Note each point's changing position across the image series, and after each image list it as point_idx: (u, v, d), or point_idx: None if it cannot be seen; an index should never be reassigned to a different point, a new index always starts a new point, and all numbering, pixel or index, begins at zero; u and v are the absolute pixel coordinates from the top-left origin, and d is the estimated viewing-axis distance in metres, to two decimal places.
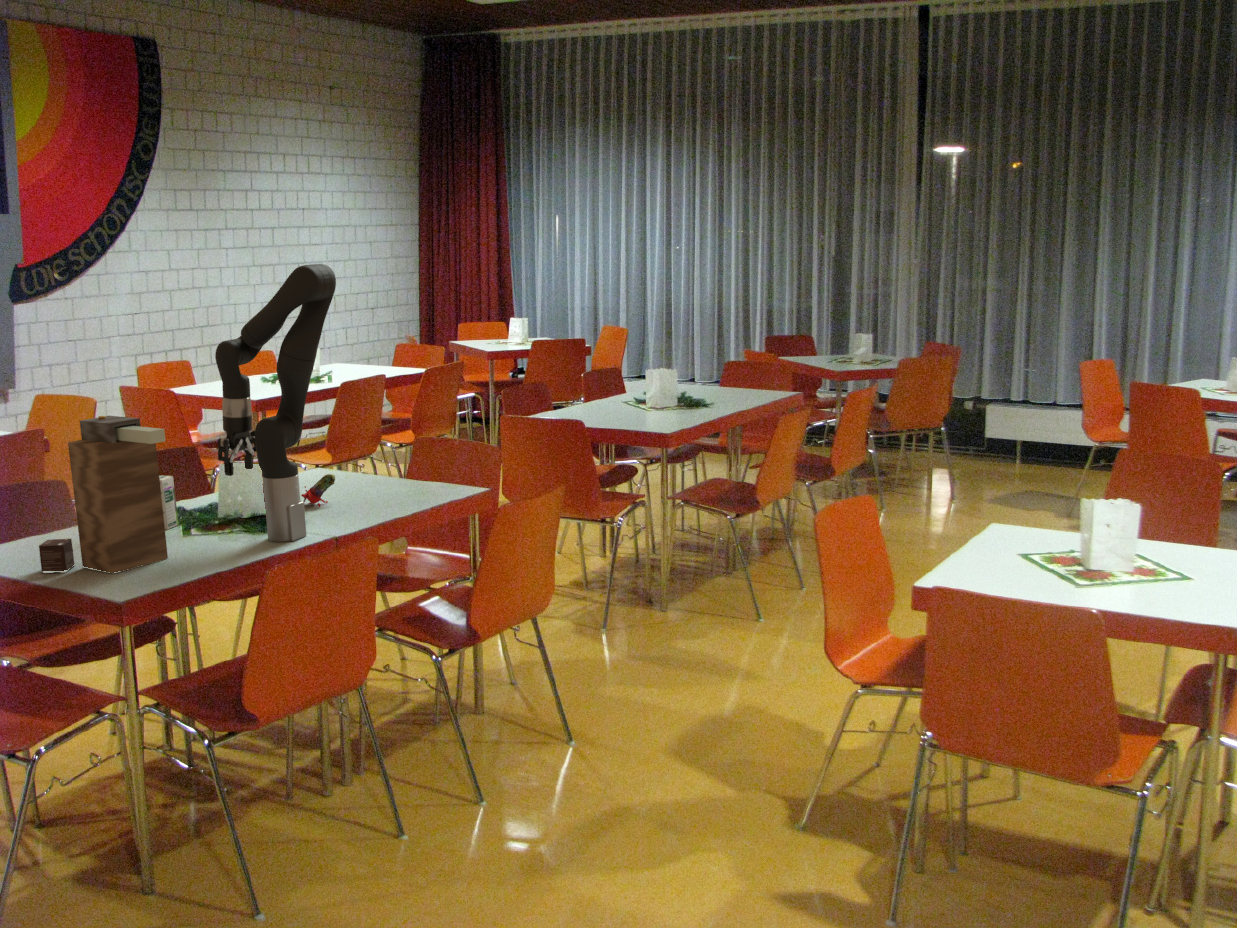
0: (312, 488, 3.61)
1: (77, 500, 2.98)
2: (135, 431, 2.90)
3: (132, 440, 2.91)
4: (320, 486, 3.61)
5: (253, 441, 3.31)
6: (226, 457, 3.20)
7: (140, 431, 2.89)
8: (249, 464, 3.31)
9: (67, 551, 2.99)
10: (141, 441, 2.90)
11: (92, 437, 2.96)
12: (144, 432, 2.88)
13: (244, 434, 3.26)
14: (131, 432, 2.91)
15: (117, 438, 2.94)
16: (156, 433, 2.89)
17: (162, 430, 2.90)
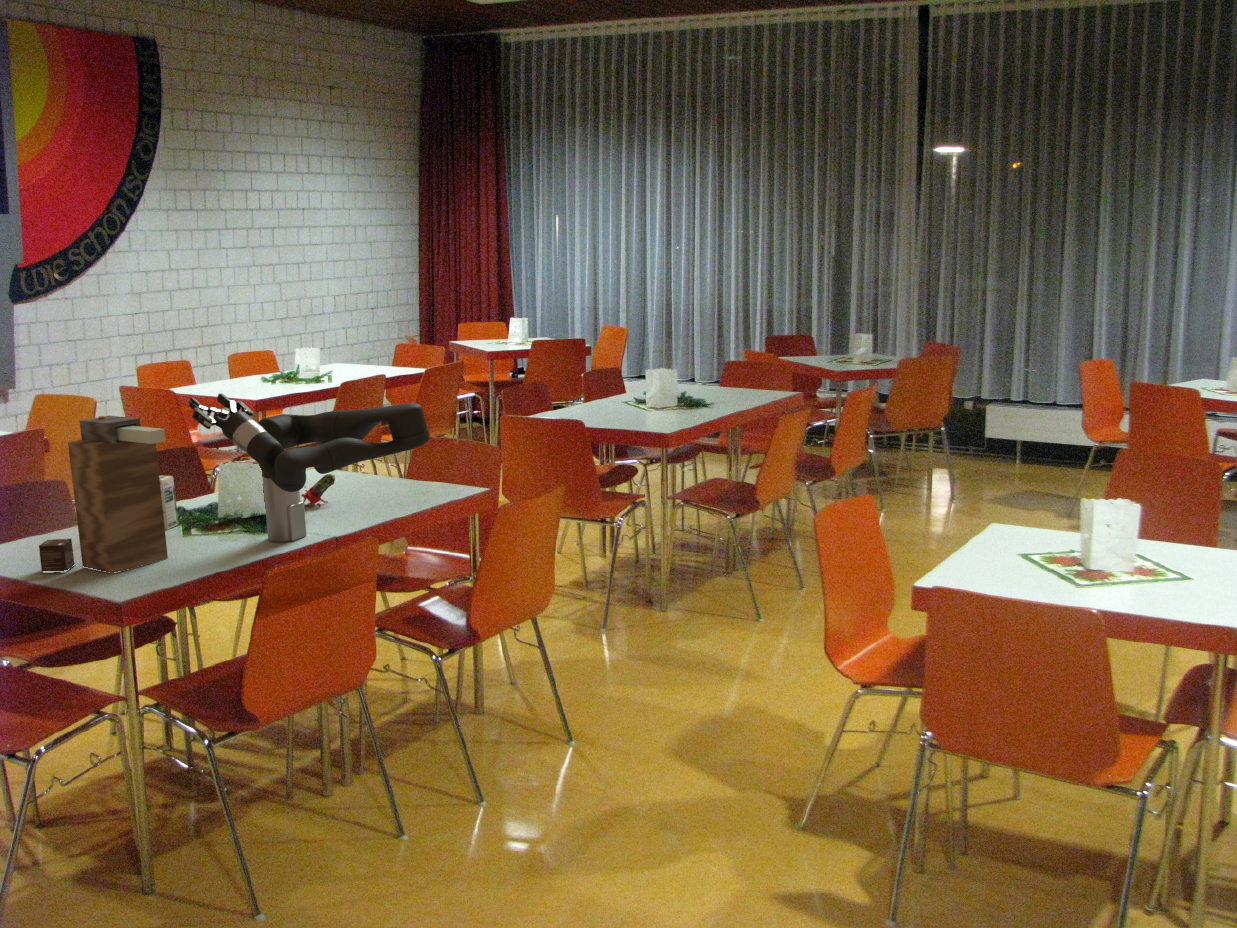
0: (312, 488, 3.61)
1: (77, 500, 2.98)
2: (135, 431, 2.90)
3: (132, 440, 2.91)
4: (320, 486, 3.61)
5: None
6: (242, 402, 3.03)
7: (140, 431, 2.89)
8: None
9: (67, 551, 2.99)
10: (141, 441, 2.90)
11: (92, 437, 2.96)
12: (144, 432, 2.88)
13: (227, 417, 2.94)
14: (131, 432, 2.91)
15: (117, 438, 2.94)
16: (156, 433, 2.89)
17: (162, 430, 2.90)
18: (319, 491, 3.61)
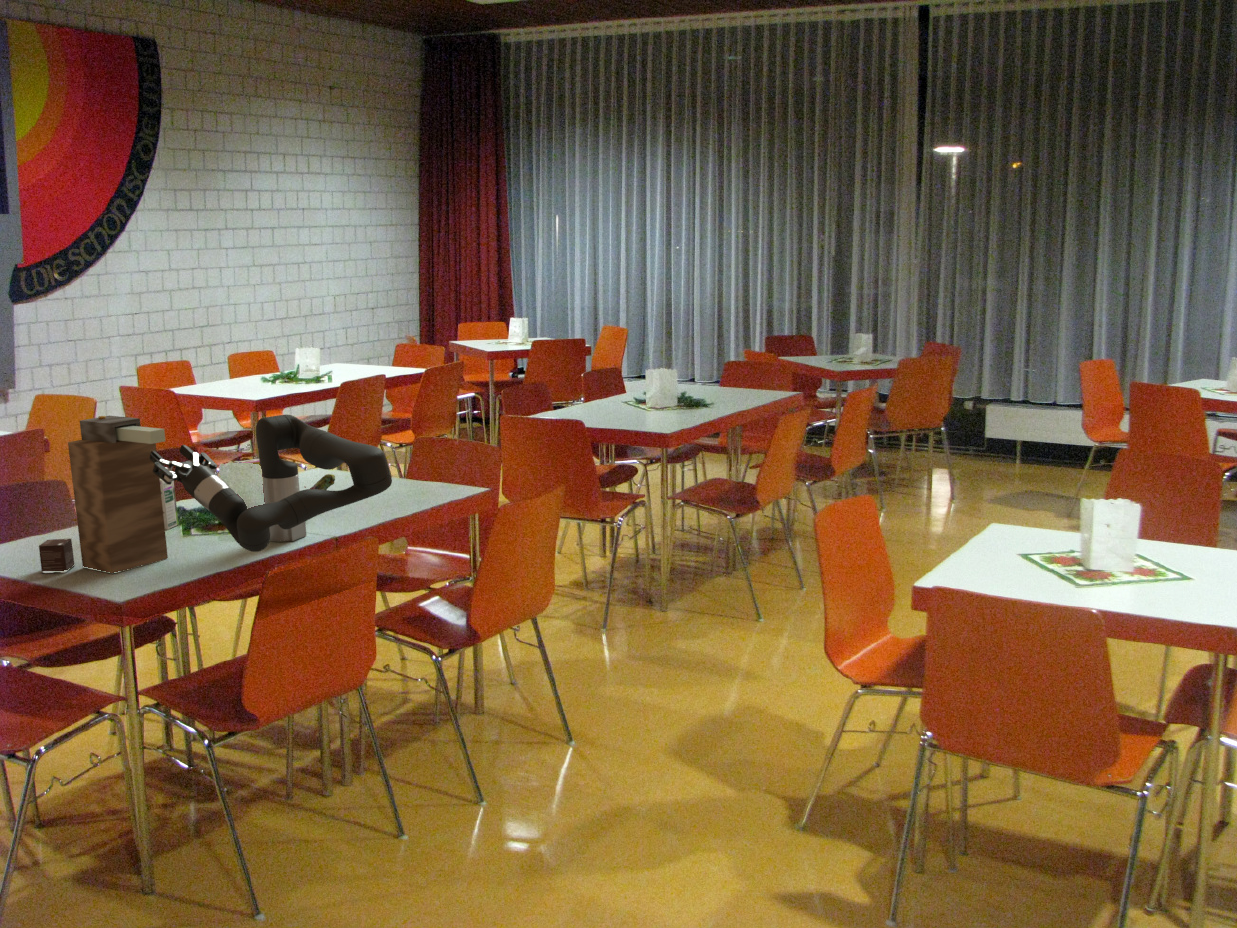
0: (312, 488, 3.61)
1: (77, 500, 2.98)
2: (135, 431, 2.90)
3: (132, 440, 2.91)
4: (320, 486, 3.61)
5: None
6: (205, 454, 2.91)
7: (140, 431, 2.89)
8: None
9: (67, 551, 2.99)
10: (141, 441, 2.90)
11: (92, 437, 2.96)
12: (144, 432, 2.88)
13: (189, 472, 2.83)
14: (131, 432, 2.91)
15: (117, 438, 2.94)
16: (156, 433, 2.89)
17: (162, 430, 2.90)
18: None
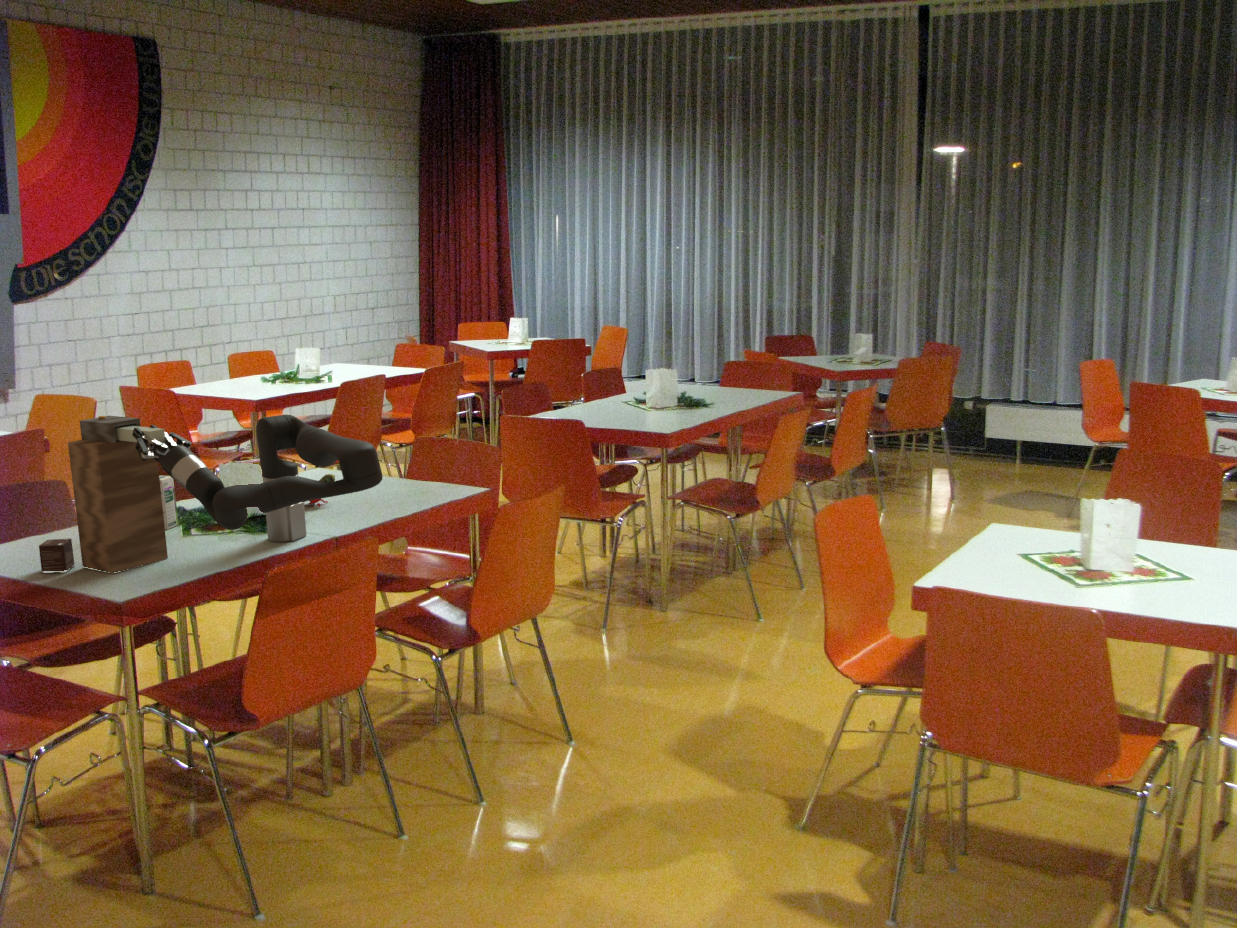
0: None
1: (77, 500, 2.98)
2: None
3: (132, 440, 2.91)
4: None
5: None
6: (174, 434, 2.93)
7: None
8: None
9: (67, 551, 2.99)
10: None
11: (92, 437, 2.96)
12: (144, 432, 2.88)
13: (167, 452, 2.86)
14: (131, 432, 2.91)
15: (117, 438, 2.94)
16: (156, 433, 2.89)
17: (162, 430, 2.90)
18: None
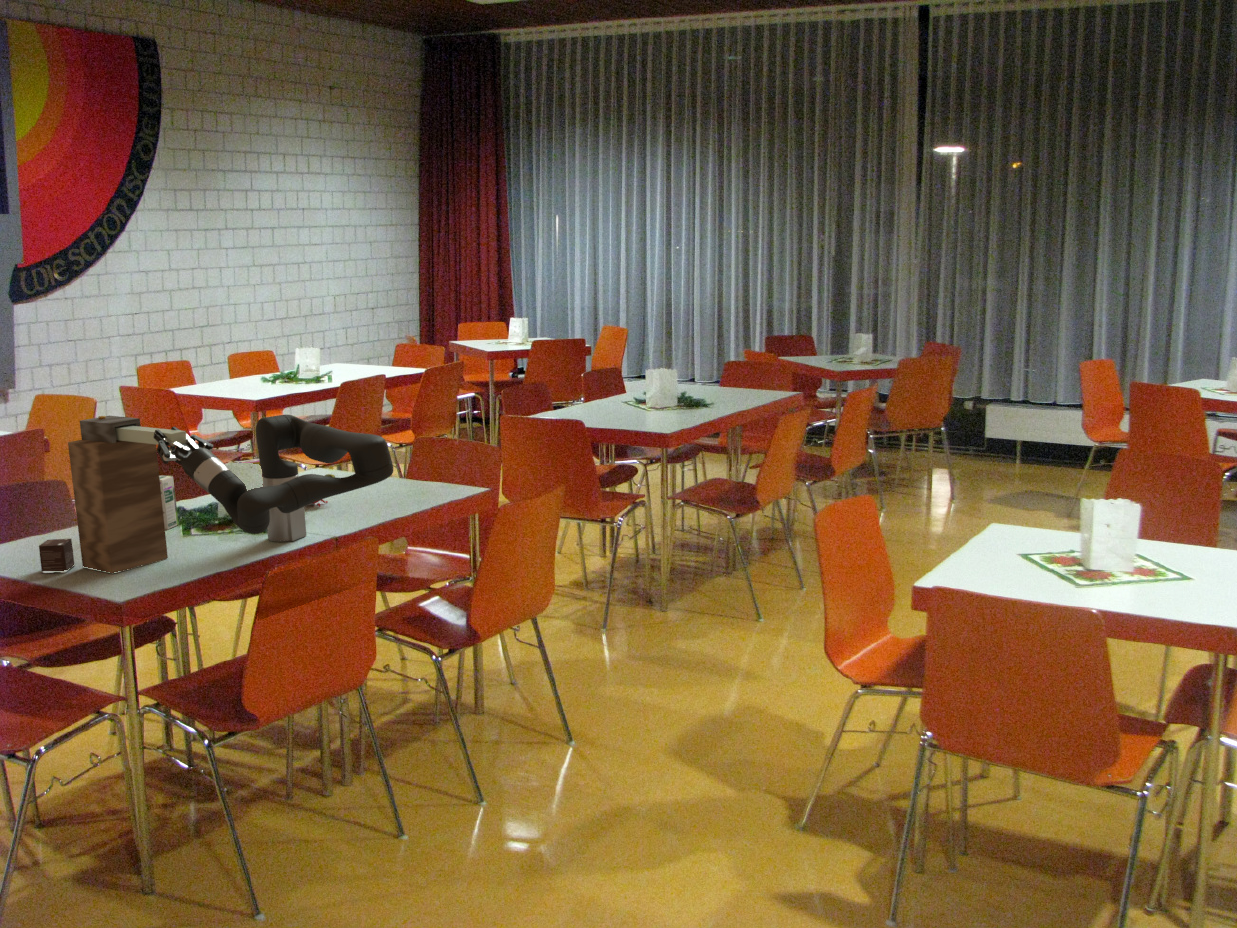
0: None
1: (77, 500, 2.98)
2: None
3: (153, 442, 2.87)
4: None
5: None
6: (196, 436, 2.89)
7: None
8: None
9: (67, 551, 2.99)
10: None
11: (92, 437, 2.96)
12: (165, 434, 2.84)
13: (189, 454, 2.82)
14: (152, 434, 2.87)
15: (138, 440, 2.90)
16: (177, 436, 2.84)
17: (183, 432, 2.86)
18: None
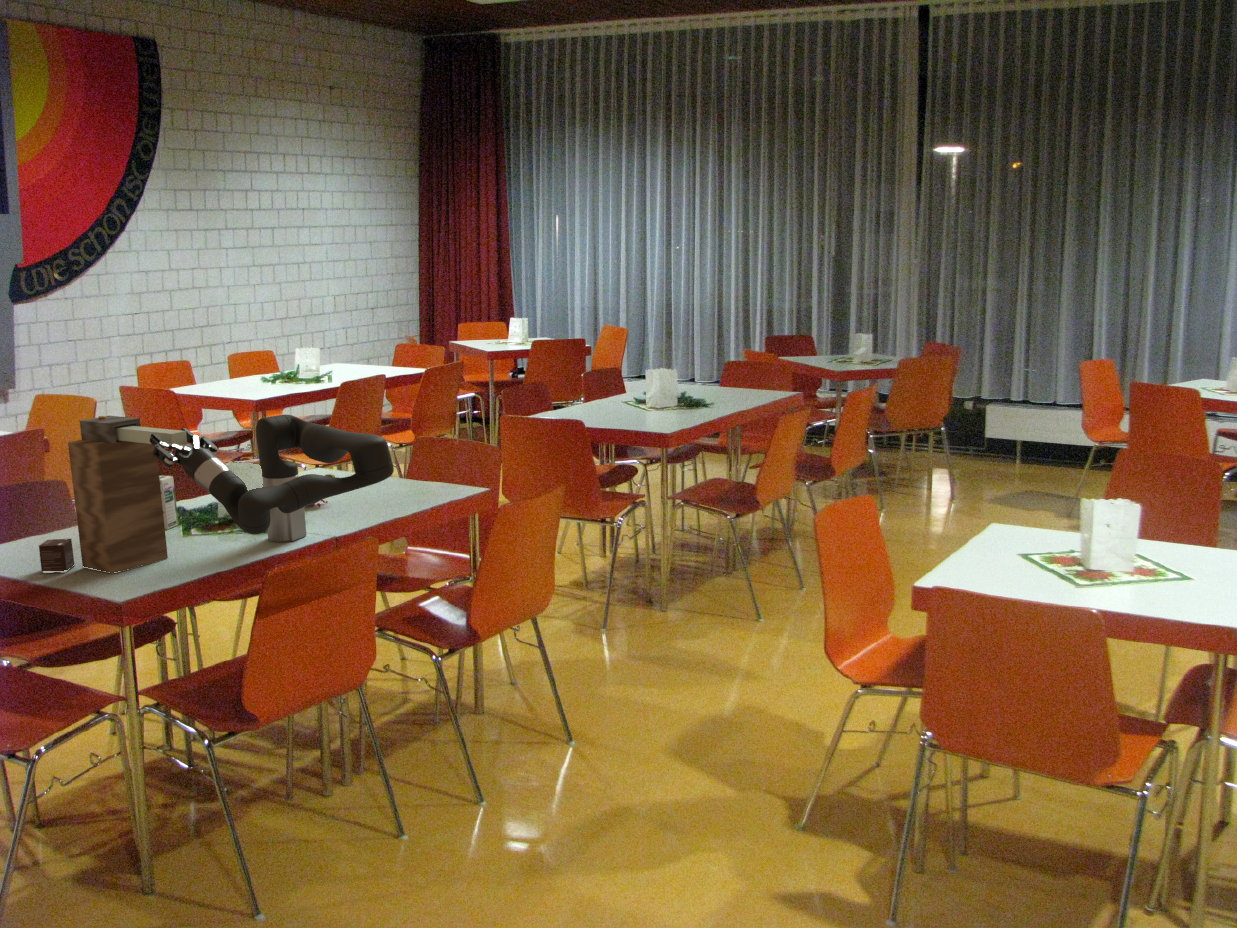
0: None
1: (77, 500, 2.98)
2: (156, 433, 2.86)
3: None
4: None
5: None
6: (206, 438, 2.90)
7: (162, 433, 2.85)
8: None
9: (67, 551, 2.99)
10: None
11: (92, 437, 2.96)
12: (166, 434, 2.84)
13: (190, 455, 2.82)
14: None
15: (138, 440, 2.90)
16: (177, 436, 2.84)
17: (184, 432, 2.86)
18: None
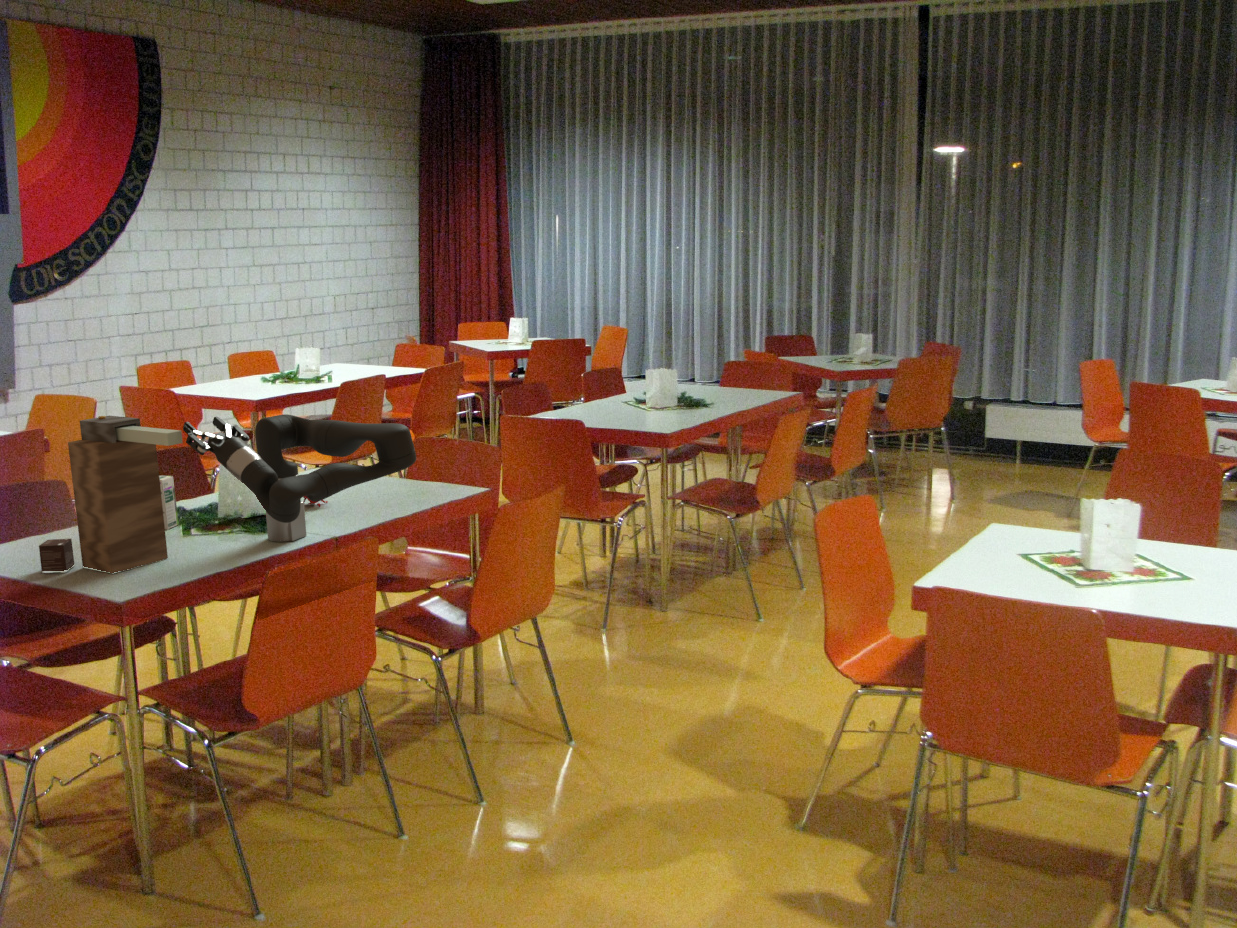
0: None
1: (77, 500, 2.98)
2: (152, 433, 2.87)
3: (149, 442, 2.88)
4: None
5: None
6: (237, 426, 2.94)
7: (157, 433, 2.86)
8: None
9: (67, 551, 2.99)
10: (158, 443, 2.86)
11: (92, 437, 2.96)
12: (161, 434, 2.85)
13: (222, 443, 2.86)
14: (148, 434, 2.88)
15: (133, 440, 2.91)
16: (173, 435, 2.85)
17: (179, 432, 2.87)
18: None
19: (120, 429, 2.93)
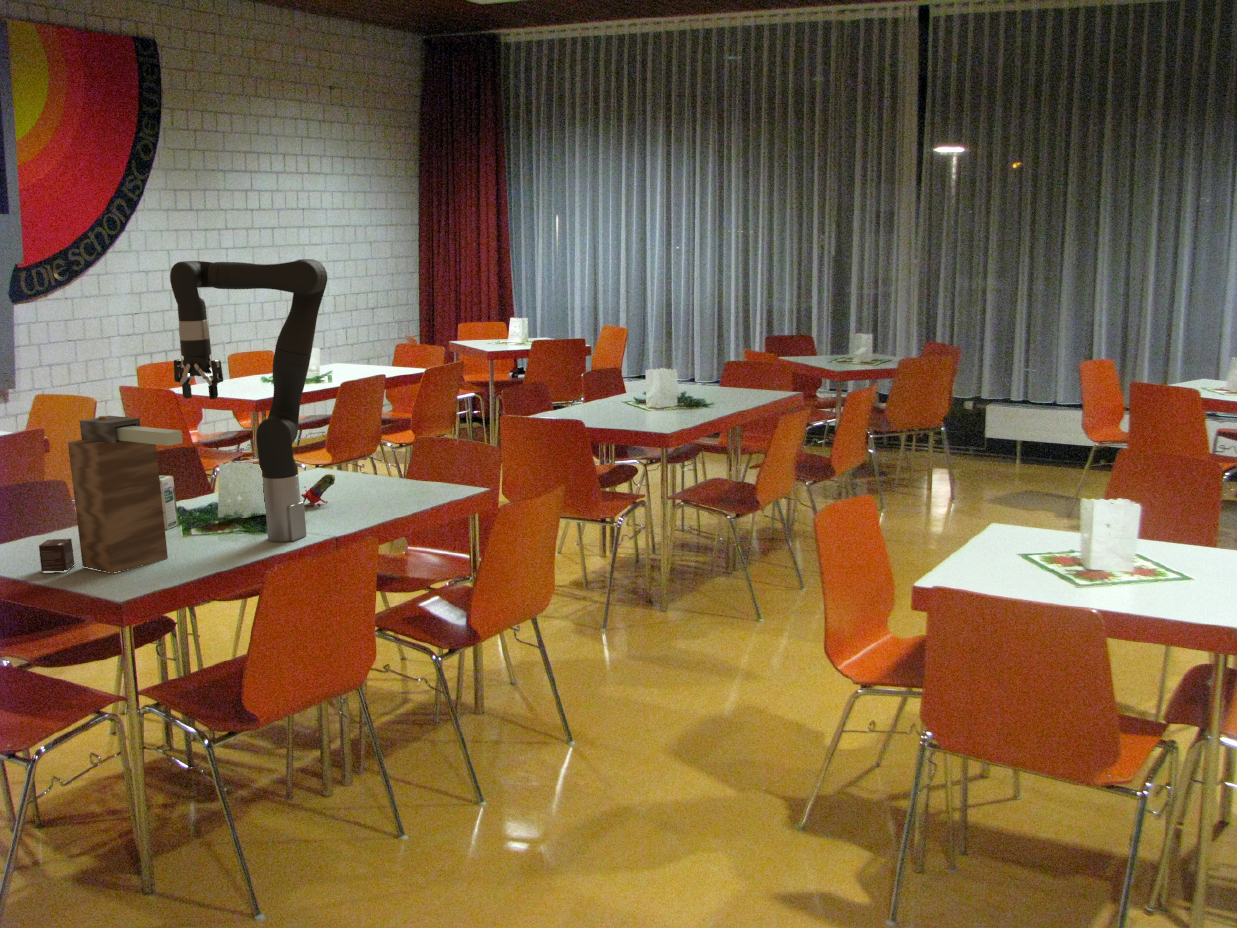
0: (312, 488, 3.61)
1: (77, 500, 2.98)
2: (152, 433, 2.87)
3: (149, 442, 2.88)
4: (320, 486, 3.61)
5: (182, 370, 3.23)
6: None
7: (157, 433, 2.86)
8: (190, 392, 3.23)
9: (67, 551, 2.99)
10: (158, 443, 2.86)
11: (92, 437, 2.96)
12: (161, 434, 2.85)
13: None
14: (148, 434, 2.88)
15: (133, 440, 2.91)
16: (173, 435, 2.85)
17: (179, 432, 2.87)
18: (319, 491, 3.61)
19: (120, 429, 2.93)
